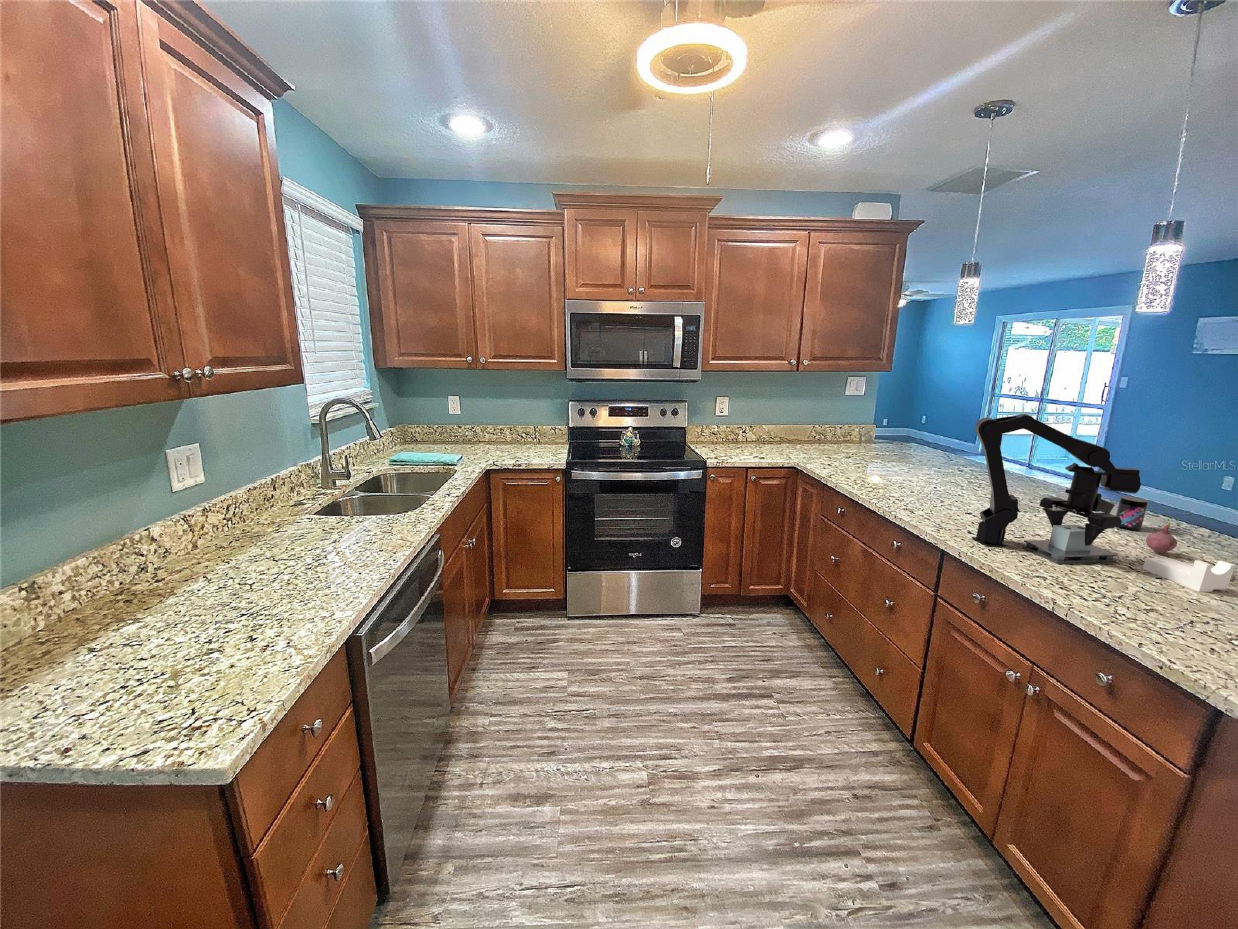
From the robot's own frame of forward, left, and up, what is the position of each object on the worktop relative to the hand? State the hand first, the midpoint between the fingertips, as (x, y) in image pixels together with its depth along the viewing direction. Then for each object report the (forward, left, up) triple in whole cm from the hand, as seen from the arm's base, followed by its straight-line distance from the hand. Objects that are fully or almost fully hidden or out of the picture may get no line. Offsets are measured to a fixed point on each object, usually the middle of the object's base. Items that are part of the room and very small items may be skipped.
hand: (1071, 539), depth 140 cm
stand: (0, 0, -5) cm, 5 cm away
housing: (0, 0, -2) cm, 2 cm away
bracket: (+16, -16, -6) cm, 23 cm away
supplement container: (+44, +21, -5) cm, 49 cm away
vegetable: (+29, 0, -5) cm, 29 cm away
